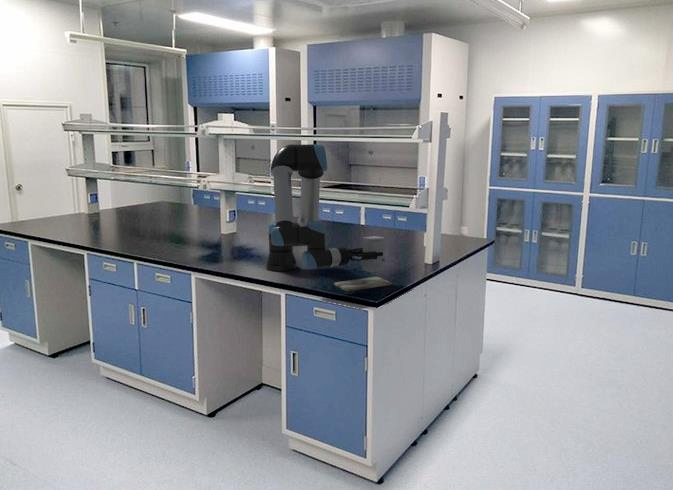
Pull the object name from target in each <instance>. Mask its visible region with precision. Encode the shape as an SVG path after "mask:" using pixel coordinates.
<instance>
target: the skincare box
mask: <svg viewBox="0 0 673 490" xmlns="http://www.w3.org/2000/svg"><path fill="white" fill-rule="evenodd" d="M362 248H363V252H375V251H379V250H386V237H383V236H378V235H375V236H365V237H362ZM385 257H386V256H384V257H377V259H376V260H375V259H369V260H362V267H361V268H362V269H361V270H362V271H364V272H367V273H376V272H383V271H385Z"/></svg>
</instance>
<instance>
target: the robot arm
mask: <svg viewBox="0 0 673 490" xmlns="http://www.w3.org/2000/svg"><path fill="white" fill-rule="evenodd" d="M326 152H327V151H326V148H325V146H324V145H323V144H316V143H314V144H313V143H312V144H310V143H308V144H293V143H291V144H287V145H284V146H282V147H281V148H280V149H279V150H277V152H275V155H274V157H273V159H272V160H271V165H270V174H271V177H273V192H274V193H273V194H274V195H273V197H274V199H273V200H274V221H272V222H270V223H269V224H268V231H267V232H268V255H267V259H266V262H265V269H266V270H268V271H272V272H287V271H292V270H295V269H297V268H298V262H297V260H296V257H295V254H294V247H306V250H305V251H303V252H301V253H302V254H301V258H300V259H301V264H302V266H303V268H304V269H306V270H312V269H313V270H316V269H322V268H331V269H333V267H337V266H347V265H348V264H349V261H357V262H361V261H363V260H369V259H375V260H376V259H377V257H384V256H385V257H389V249H385V250H379V251H375V252H363V247H357V248H356V247H355V248H350V249H349V248H348V249H347V247H345V246H341V247H333V248H326V224H325V223H324V221H322V220H321V218H320V216H319V209H320V192H321V191H320V189H321V187H320V186H321V178H322V177H323V176H324V174H325V173H324V172H326V171H328V161H327V153H326ZM294 172H297V174H298V176H299V177H300V216H299V218H298V219H297V220H296V222H295V221H294V207H293V189H292V188H293V187H292V185H293V184H292V176H293V175H294Z"/></svg>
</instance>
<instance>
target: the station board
mask: <svg viewBox="0 0 673 490" xmlns="http://www.w3.org/2000/svg"><path fill="white" fill-rule="evenodd" d="M333 285H334V286H336V287H337V288H339V289H341V290H344V291H345V292H353V291H354V292H355V291H360V290H367V289H372V288H378V287H384V286H385V287H386V286H390V285H392V281H389V280H386V279H385V278H382V277H379V276H377V275H376V276H370V277H363V278H357V279H350V280H343V281H337V282H336V281H335V282H333Z"/></svg>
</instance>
